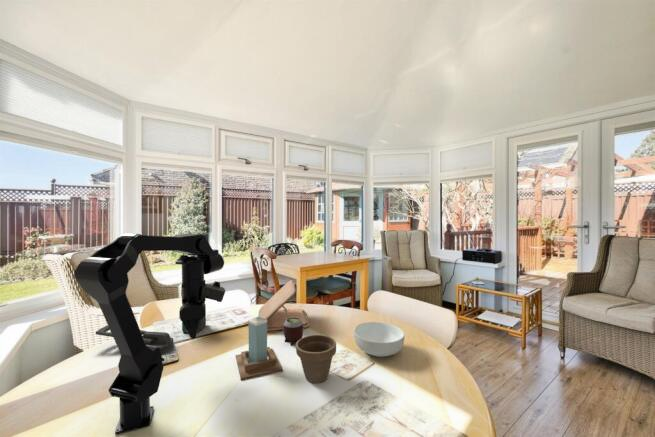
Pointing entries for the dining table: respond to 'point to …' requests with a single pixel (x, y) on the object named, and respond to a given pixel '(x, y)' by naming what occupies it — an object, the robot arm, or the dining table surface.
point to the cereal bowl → (379, 338)
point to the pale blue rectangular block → (257, 339)
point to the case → (277, 316)
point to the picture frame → (257, 365)
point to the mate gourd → (292, 329)
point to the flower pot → (316, 356)
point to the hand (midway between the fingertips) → (194, 332)
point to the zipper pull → (147, 338)
